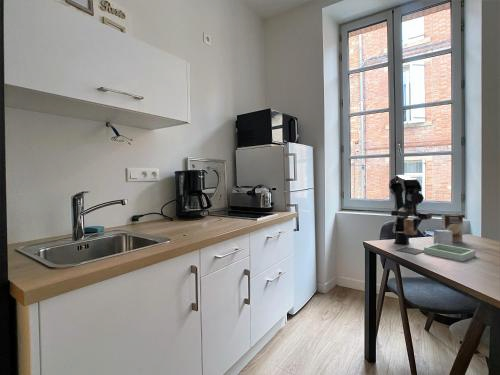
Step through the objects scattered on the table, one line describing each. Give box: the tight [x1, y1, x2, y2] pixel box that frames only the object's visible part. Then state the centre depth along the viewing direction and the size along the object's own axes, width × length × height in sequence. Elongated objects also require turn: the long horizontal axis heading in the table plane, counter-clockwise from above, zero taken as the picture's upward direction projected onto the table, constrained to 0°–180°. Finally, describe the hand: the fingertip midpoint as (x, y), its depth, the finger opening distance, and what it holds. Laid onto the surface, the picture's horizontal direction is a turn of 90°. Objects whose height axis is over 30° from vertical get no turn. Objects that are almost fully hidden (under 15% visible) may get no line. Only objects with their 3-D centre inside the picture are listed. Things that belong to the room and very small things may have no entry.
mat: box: [396, 246, 424, 256], centre depth 143 cm, size 10×10×1 cm
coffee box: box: [441, 213, 464, 243], centre depth 162 cm, size 9×6×16 cm
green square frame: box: [423, 243, 476, 262], centre depth 135 cm, size 17×14×3 cm
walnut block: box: [404, 218, 418, 236], centre depth 143 cm, size 4×4×8 cm
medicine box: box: [433, 229, 453, 246], centre depth 152 cm, size 8×4×9 cm, turn 84°
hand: (410, 230), depth 143 cm, fingers closed on walnut block, 4 cm apart
